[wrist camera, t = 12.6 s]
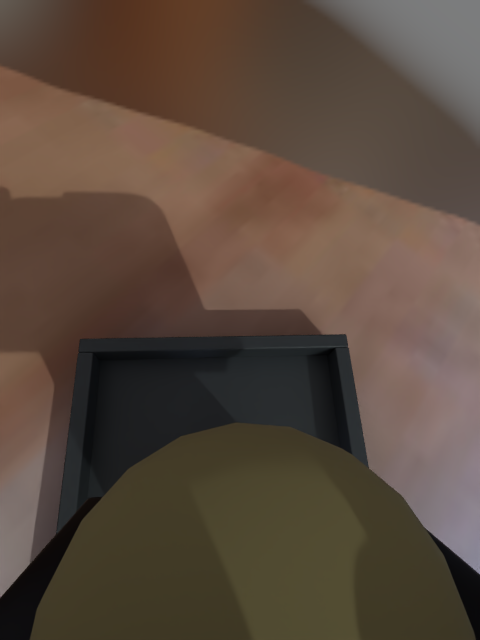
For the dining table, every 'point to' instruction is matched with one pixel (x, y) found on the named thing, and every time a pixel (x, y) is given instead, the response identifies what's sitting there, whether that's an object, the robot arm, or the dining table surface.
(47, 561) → the robot arm
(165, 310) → the dining table surface
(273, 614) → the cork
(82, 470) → the tray
